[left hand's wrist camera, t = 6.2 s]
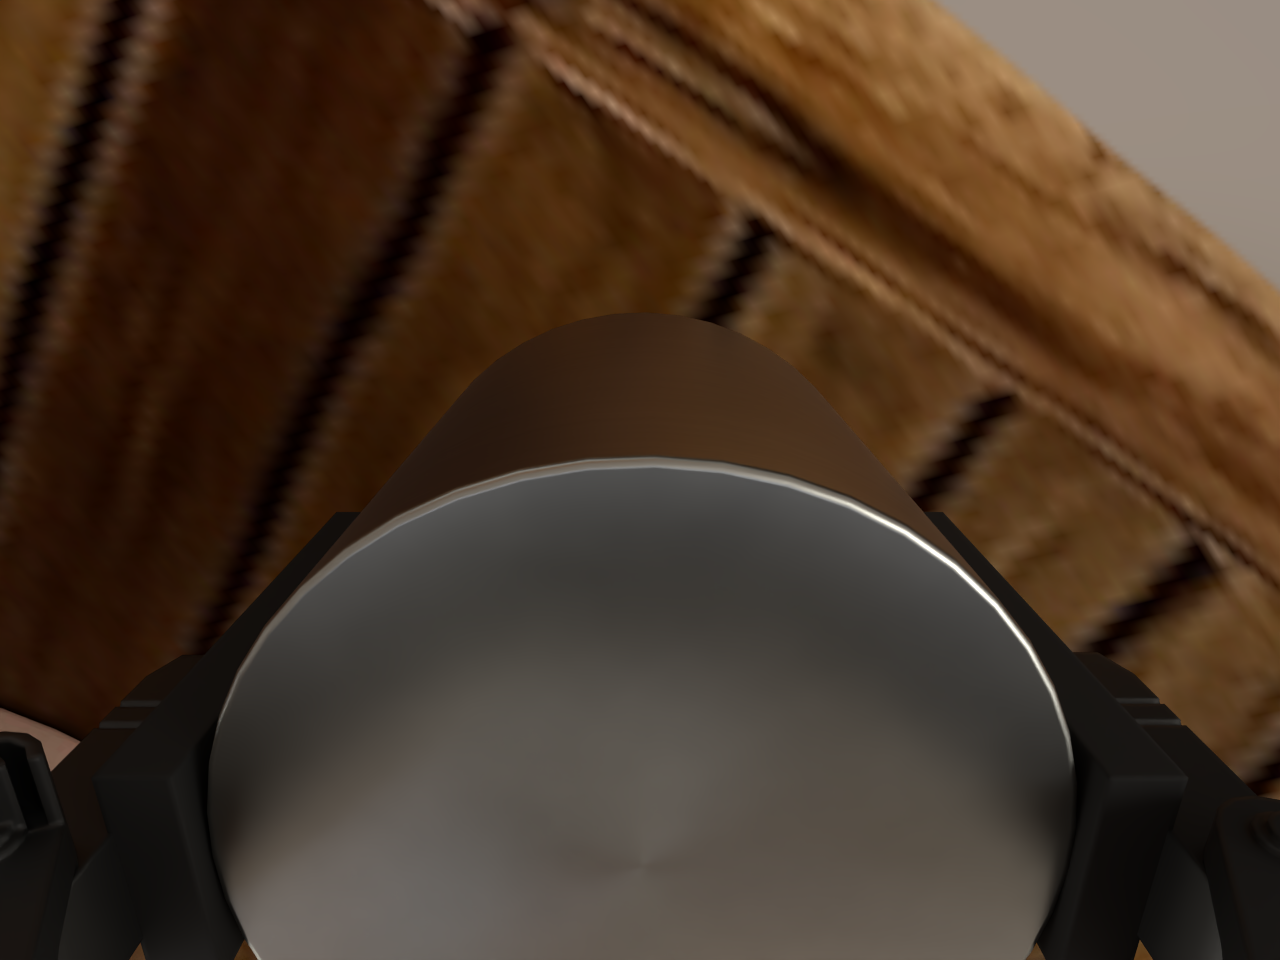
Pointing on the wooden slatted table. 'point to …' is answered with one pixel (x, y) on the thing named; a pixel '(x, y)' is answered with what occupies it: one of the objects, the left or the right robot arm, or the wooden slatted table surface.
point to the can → (642, 691)
